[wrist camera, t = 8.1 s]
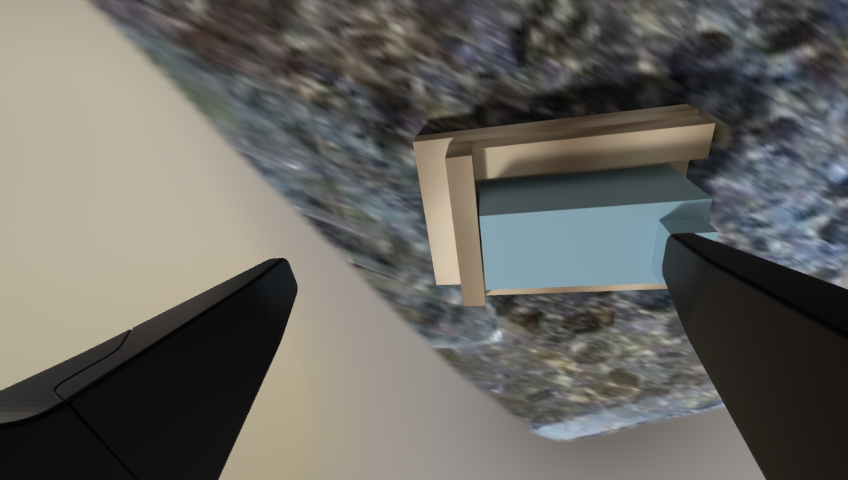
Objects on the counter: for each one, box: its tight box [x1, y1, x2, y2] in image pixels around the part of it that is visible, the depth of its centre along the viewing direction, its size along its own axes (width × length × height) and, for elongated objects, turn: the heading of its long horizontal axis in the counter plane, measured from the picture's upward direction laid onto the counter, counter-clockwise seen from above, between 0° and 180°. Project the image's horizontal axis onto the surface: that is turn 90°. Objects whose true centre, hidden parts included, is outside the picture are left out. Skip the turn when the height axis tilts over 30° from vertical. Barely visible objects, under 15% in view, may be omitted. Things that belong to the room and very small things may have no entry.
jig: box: [413, 104, 715, 306], centre depth 20 cm, size 13×9×4 cm
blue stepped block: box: [479, 164, 718, 290], centre depth 18 cm, size 9×4×5 cm, turn 99°
